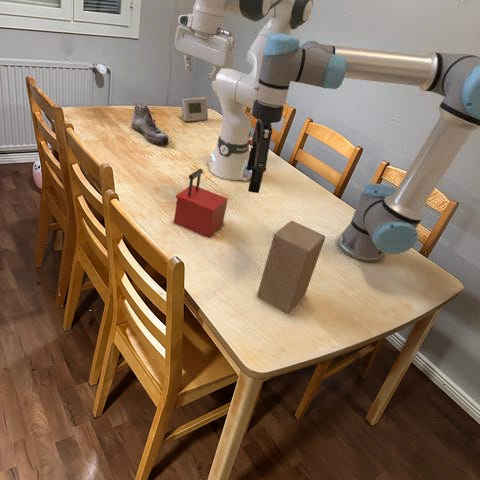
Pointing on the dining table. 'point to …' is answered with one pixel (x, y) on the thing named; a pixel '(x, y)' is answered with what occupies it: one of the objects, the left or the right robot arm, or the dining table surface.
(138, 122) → the shoe
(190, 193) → the lid
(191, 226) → the chest
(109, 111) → the dining table surface
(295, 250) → the wooden block
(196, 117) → the digital clock
